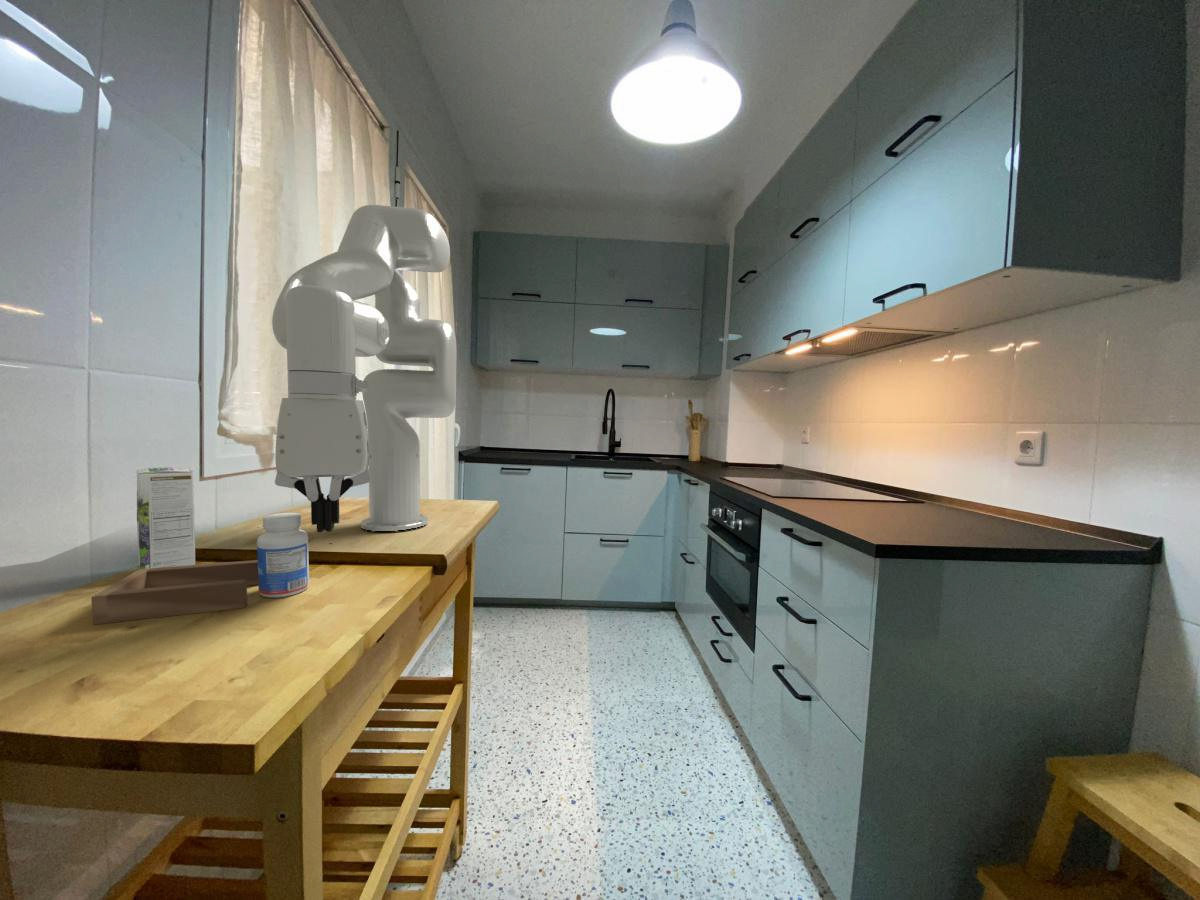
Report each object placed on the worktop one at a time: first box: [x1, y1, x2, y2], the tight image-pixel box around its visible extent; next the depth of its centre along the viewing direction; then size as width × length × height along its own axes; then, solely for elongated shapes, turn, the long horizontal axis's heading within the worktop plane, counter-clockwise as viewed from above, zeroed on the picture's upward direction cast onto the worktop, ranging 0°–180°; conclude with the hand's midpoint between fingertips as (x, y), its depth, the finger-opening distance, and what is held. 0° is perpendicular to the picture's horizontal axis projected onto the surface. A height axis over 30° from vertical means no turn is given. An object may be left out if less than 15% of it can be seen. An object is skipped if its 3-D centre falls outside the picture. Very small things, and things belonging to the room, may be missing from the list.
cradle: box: [90, 559, 258, 625], centre depth 56 cm, size 9×13×3 cm
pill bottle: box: [256, 512, 310, 599], centre depth 60 cm, size 6×5×10 cm
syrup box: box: [136, 466, 196, 570], centre depth 66 cm, size 6×6×14 cm
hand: (325, 529), depth 61 cm, fingers closed
